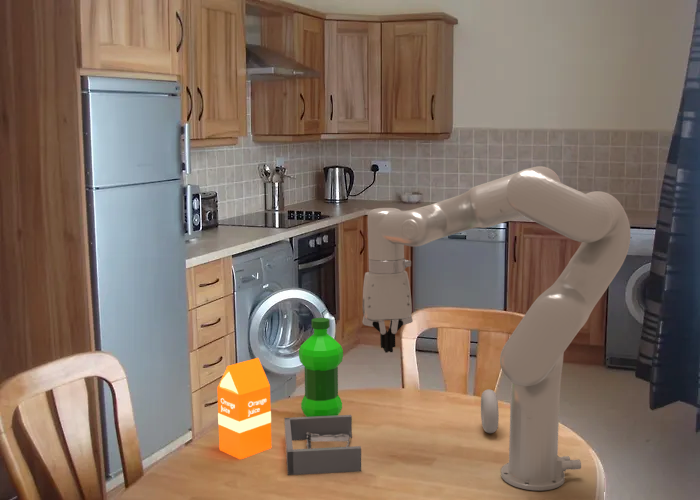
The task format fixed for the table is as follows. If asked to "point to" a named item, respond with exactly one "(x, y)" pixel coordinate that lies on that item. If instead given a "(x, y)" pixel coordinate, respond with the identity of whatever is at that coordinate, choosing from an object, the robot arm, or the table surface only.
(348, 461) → the tray
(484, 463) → the table surface
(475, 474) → the table surface
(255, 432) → the orange juice
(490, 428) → the donut
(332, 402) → the plastic bottle
